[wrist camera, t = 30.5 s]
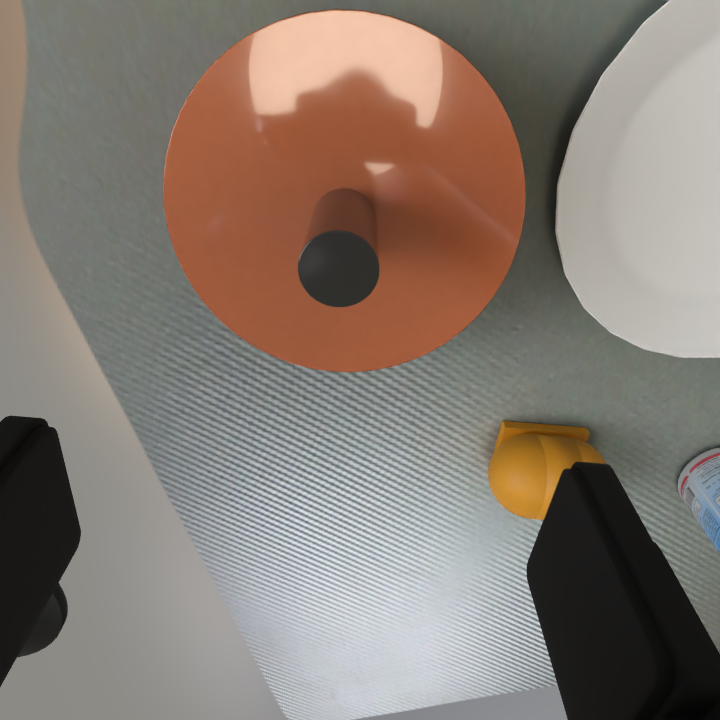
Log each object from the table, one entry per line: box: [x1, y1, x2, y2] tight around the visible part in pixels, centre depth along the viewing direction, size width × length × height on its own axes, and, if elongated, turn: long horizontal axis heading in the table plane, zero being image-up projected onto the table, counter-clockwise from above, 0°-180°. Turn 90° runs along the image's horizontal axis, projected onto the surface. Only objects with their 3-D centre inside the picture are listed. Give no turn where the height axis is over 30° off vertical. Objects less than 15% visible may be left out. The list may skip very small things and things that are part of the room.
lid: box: [163, 9, 526, 372], centre depth 23 cm, size 16×16×7 cm
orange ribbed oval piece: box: [488, 421, 607, 520], centre depth 37 cm, size 8×6×6 cm
